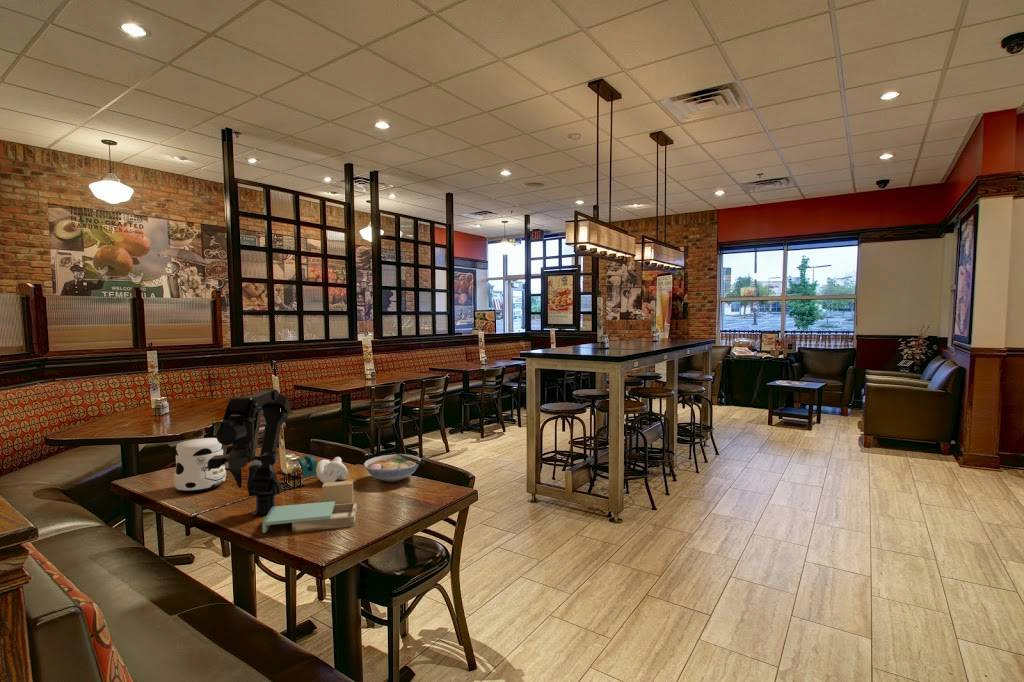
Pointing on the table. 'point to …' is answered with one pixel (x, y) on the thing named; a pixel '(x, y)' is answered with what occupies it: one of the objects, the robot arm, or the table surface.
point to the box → (339, 518)
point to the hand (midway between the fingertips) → (245, 487)
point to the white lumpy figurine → (331, 470)
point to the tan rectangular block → (338, 492)
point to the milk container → (198, 465)
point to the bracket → (307, 466)
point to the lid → (298, 513)
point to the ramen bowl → (392, 466)
